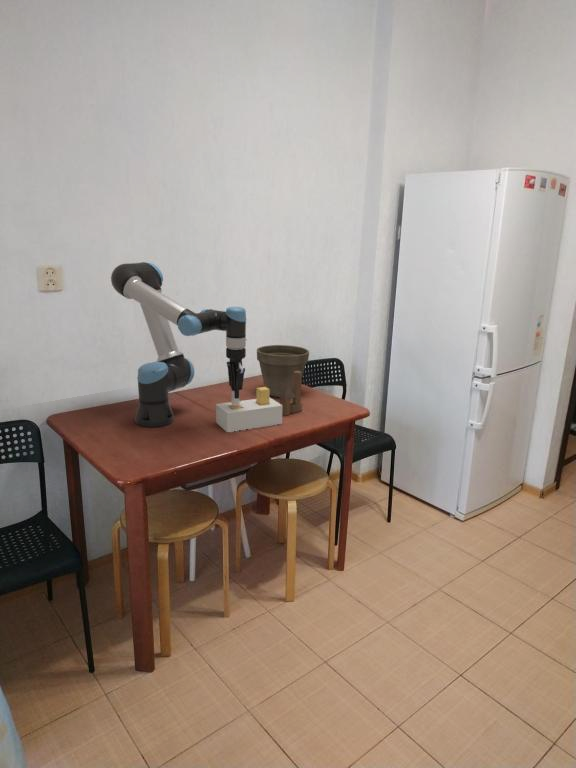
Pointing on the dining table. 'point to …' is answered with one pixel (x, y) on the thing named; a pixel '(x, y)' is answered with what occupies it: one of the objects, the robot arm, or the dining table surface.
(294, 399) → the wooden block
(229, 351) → the robot arm
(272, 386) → the plant pot
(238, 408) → the peg near
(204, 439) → the dining table surface
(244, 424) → the socket block
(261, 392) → the peg far
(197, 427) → the dining table surface
